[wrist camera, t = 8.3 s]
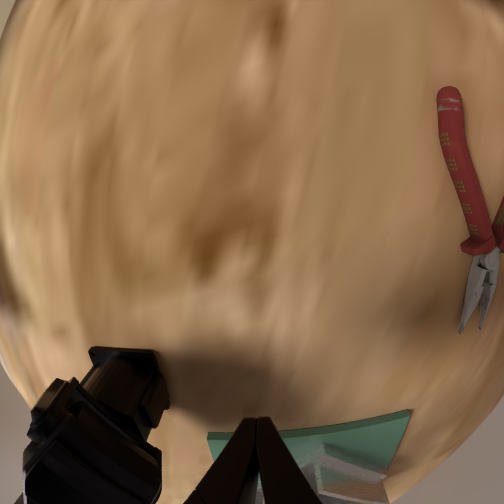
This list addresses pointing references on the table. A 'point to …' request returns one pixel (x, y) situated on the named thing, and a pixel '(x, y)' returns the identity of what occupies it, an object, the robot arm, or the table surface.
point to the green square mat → (340, 438)
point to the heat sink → (340, 477)
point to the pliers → (470, 208)
